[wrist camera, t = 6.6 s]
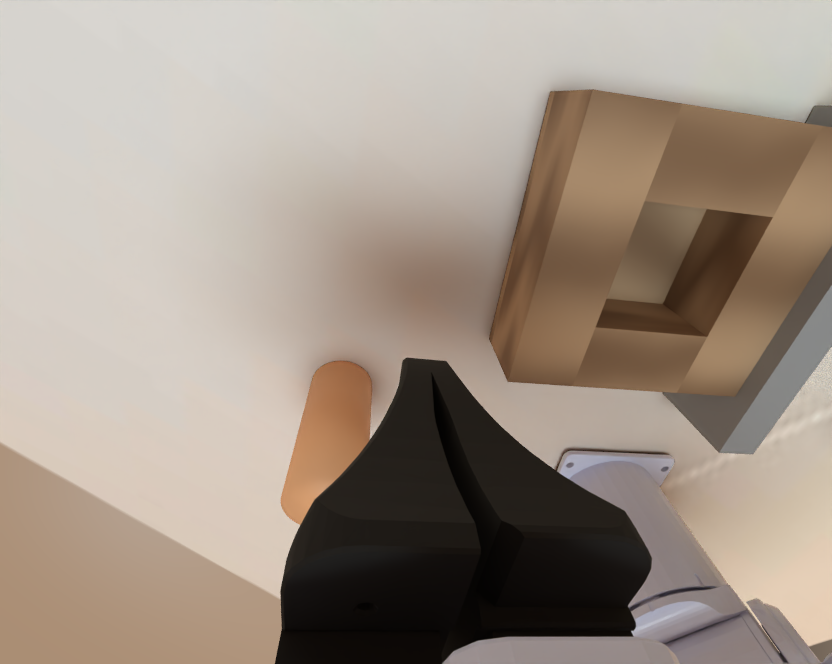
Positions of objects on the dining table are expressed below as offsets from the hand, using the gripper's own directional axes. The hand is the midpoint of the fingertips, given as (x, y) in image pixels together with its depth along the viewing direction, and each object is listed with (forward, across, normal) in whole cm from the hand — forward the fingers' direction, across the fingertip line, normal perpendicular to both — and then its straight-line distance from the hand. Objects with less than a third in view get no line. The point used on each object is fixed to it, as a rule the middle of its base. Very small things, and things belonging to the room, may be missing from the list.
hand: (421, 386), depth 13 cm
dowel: (+9, +3, +7) cm, 12 cm away
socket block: (+9, -11, -3) cm, 15 cm away
